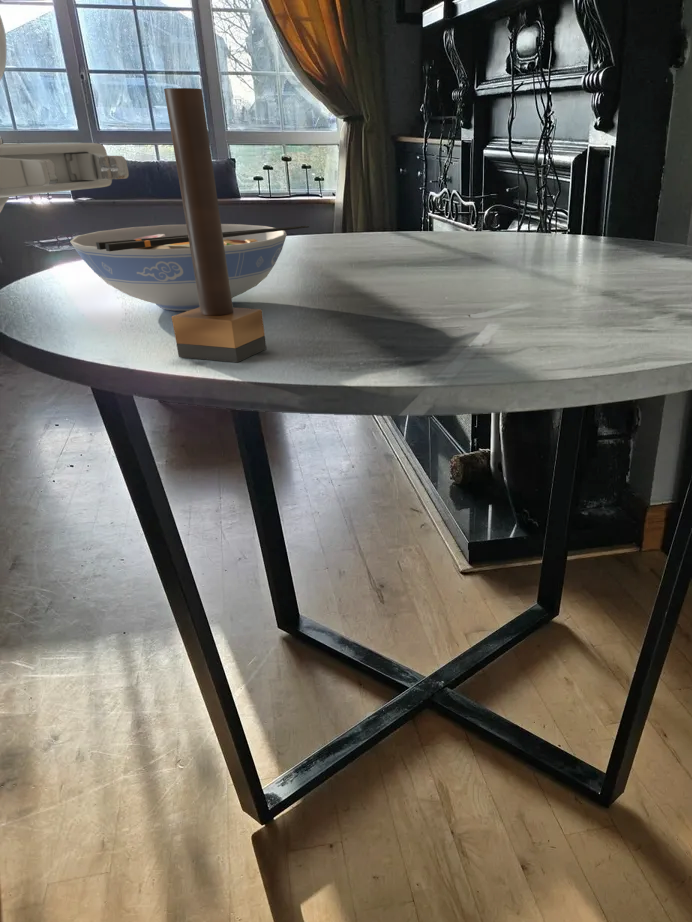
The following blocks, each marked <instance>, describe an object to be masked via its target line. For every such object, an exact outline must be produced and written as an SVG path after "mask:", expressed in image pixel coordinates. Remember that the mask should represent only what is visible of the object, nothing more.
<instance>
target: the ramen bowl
mask: <svg viewBox="0 0 692 922" xmlns="http://www.w3.org/2000/svg"><path fill="white" fill-rule="evenodd" d="M221 227H222V234H223V241H224V248H225V255H226V262H227V269H228V276H229V283H230V290H231V297H232V299H234V298H235V297H238V296H239V295H241V294H245V292H247V291H249V290H251V289H253V288H255V287H257V286H258V285H259V284H260V283H261V282H263V280H265V279H266V278H267V277H268V276H269V274H270V273H271V271H272V270H273V268H274V266H275V265H276V263H277V261H278V259H279V257H280V255H281V253H282V251H283V248H284V245H285V241H286V238H287V232H286V231H289V230H299V229H307V228H310V226H309V225H297V226H284V227H283V226H282V227H272V226H269V225H268V226H267V225H253V224H241V223H238V224H237V223H236V224H235V223H221ZM69 242H70V244H71V245H72V247H73V248H74V250H75V251H76V252H77V254H78V255H79V256H80V258H81V259H82V260H83V261H84V262H85V264H86V265H87V266H88V267H89V268H90V269H91V270H92V271H93V272H94V273H95V274H96V275H97V276H98V277H99V278H100V279H101V280H102V281H104V282H105V283H106V284H108V286H111V287H113V288H115V289H116V290H117V291H120V292H121V293H123V294H125V295H128V296H130V297H132V298H135V299H137V300H141V301H144V302H146V303H151V304H155V305H156V306H157V307H159V308H161V309H163V310H167V311H174V312H186V311H189V310H192V309H195V308H198V307H200V306H199V299H198V293H197V287H196V281H195V275H194V269H193V263H192V257H191V251H190V245H189V238H188V232H187V226H186V223H185V224H162V225H148V226H147V225H146V226H133V227H123V228H116V229H108V230H106V229H105V230H98V231H95V232H89V233H85V234H80V235H76V236H74V237H73V238H72V239H71V240H70V241H69Z"/></svg>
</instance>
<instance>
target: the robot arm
mask: <svg viewBox="0 0 692 922" xmlns="http://www.w3.org/2000/svg"><path fill="white" fill-rule="evenodd" d="M6 37H7V36H6V30H5V26H4V22H3V19H2V16H1V15H0V81H1V80H2V79H3V76H4V73H5V70H6V66H7V53H8V52H7V38H6ZM129 174H130V173H129V168H128V162H127V159H126V158H125V156H123V155H109V154H108V153H107V150H106V148H105V146H104V145H103V144H101V143H97V142H23V143H22V142H20V143H19V142H18V143H4V139H3V138H2V136H1V135H0V214H1V213H2V211H3V209H4V207H5V204H7V202H8V200H9V198H10V197H19V196H21V197H22V196H29V195H30V196H31V195H41V194H51V193H60V192H69V191H79V190H89V189H100V188H106V187H109V186H111V185H112V183H113V180H124V179H128V178H129V176H130V175H129Z"/></svg>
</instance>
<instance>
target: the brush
mask: <svg viewBox="0 0 692 922" xmlns="http://www.w3.org/2000/svg"><path fill="white" fill-rule="evenodd" d="M163 91H164V98H165V104H166V109H167V115H168V116H167V117H168V122H169V129H170V134H171V141H172V147H173V153H174V158H175V159H174V160H175V164H176V170H177V177H178V182H179V188H180V195H181V201H182V208H183V213H184V219H185V220H184V221H185V224H186V226H187V232H188V238H189V245H190V251H191V257H192V263H193V269H194V275H195V281H196V287H197V293H198V299H199V306H200V307H198V308H195V309H192V310H189V311H182V312H180V313H178V314H175V315H172V316H171V322H172V327H173V332H174V337H175V344H176V349H177V354H178V358H182V359H183V358H184V359H195V360H206V361H216V362H217V361H218V362H229V363H239V362H242V361H244V360H246V359H248V358H251V357H253V356H254V355H257V354H259V353H261V352H264V351H265V350H267V341H266V336H265V334H266V333H265V326H264V325H265V324H264V318H263V309H261V308H246V307H234V305H233V298H232V297H231V290H230V283H229V276H228V269H227V262H226V255H225V248H224V241H223V234H222V227H221V224H222V221H221V214H220V208H219V200H218V193H217V187H216V186H217V185H216V178H215V172H214V165H213V159H212V152H211V143H210V137H209V132H208V123H207V117H206V110H205V103H204V102H205V101H204V95H203V89H202V88H196V87H195V88H194V87H169V88H164V89H163Z"/></svg>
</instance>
